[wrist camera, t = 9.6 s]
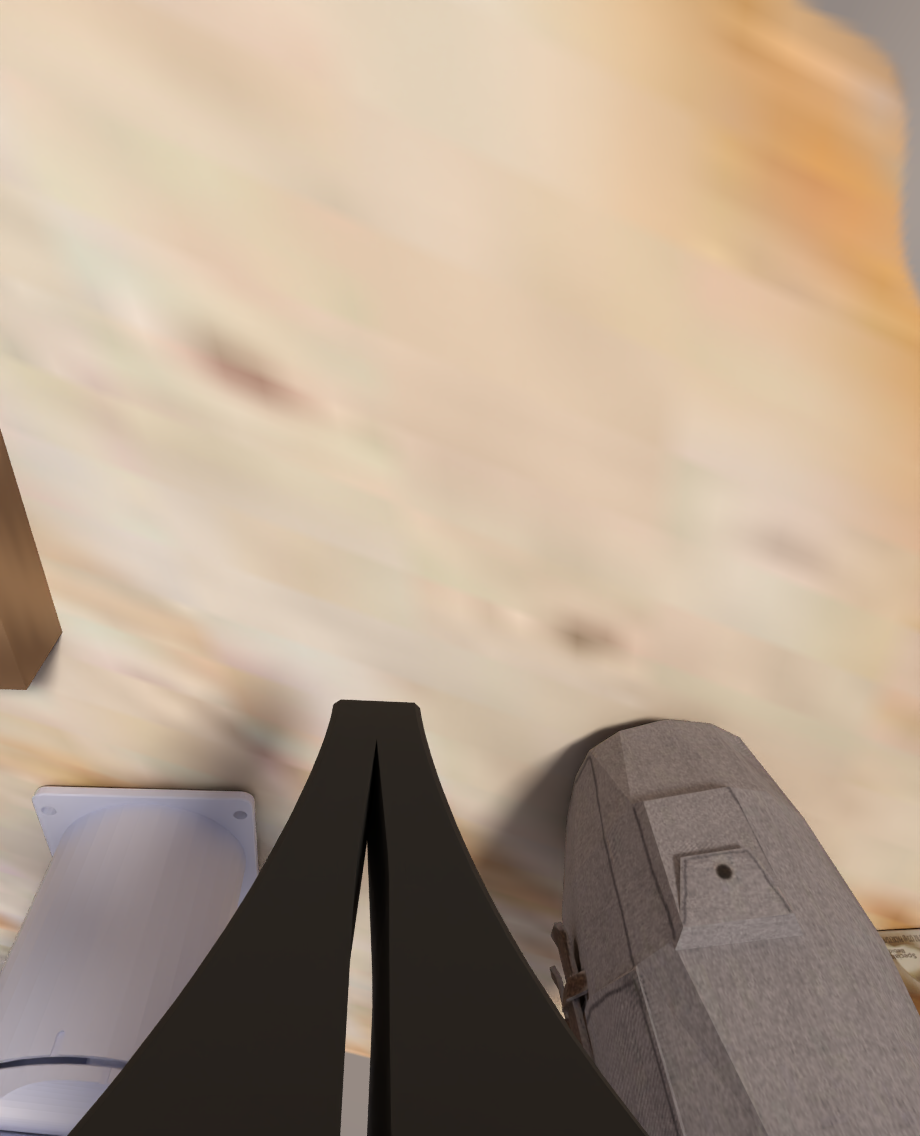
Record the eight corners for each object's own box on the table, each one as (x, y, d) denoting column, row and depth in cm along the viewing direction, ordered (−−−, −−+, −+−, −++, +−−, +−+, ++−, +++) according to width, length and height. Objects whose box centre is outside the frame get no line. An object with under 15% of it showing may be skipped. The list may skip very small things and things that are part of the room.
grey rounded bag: (692, 884, 33) (972, 1657, 17) (522, 899, 33) (639, 1699, 17) (757, 656, 24) (1473, 1809, 8) (525, 674, 24) (781, 1905, 8)
